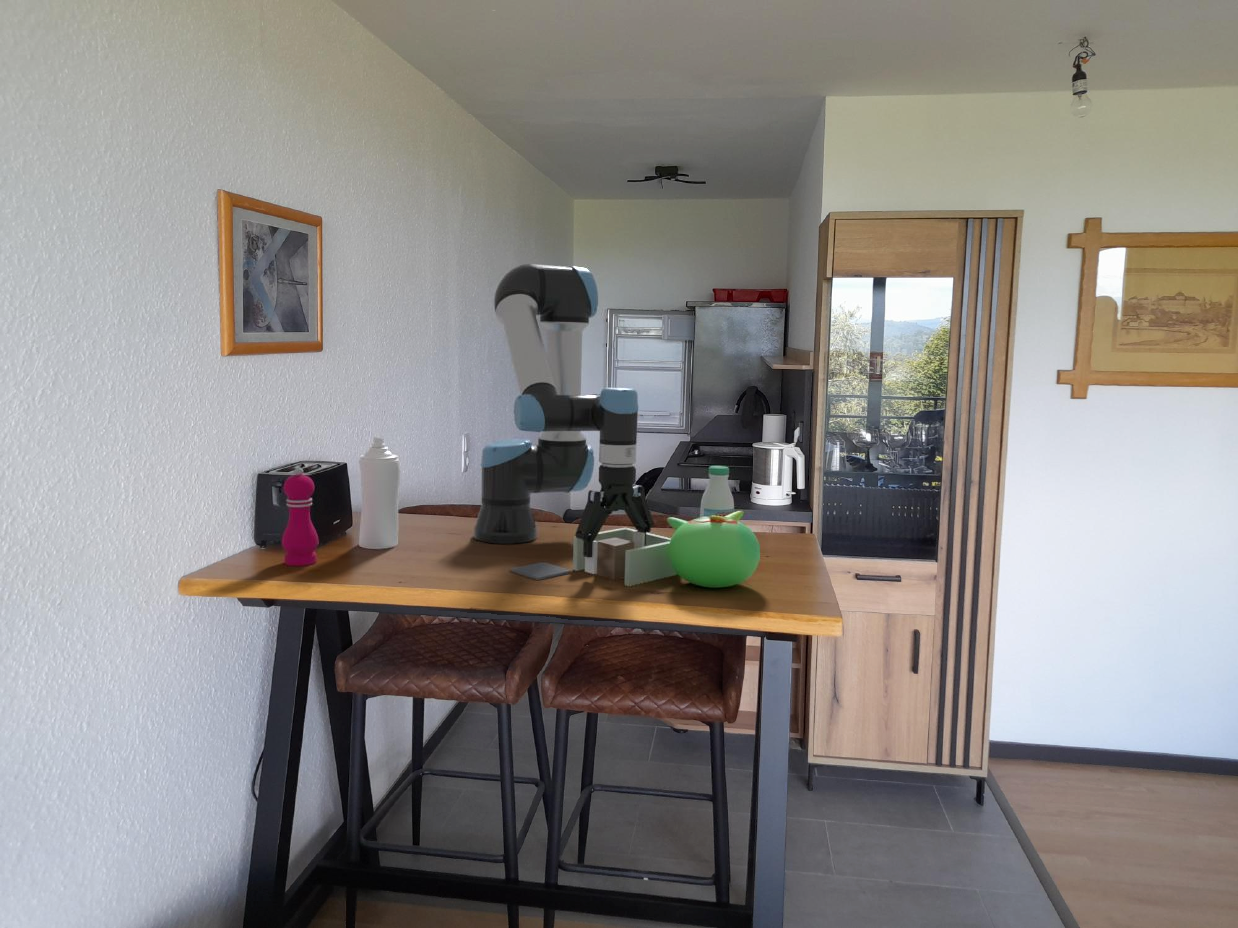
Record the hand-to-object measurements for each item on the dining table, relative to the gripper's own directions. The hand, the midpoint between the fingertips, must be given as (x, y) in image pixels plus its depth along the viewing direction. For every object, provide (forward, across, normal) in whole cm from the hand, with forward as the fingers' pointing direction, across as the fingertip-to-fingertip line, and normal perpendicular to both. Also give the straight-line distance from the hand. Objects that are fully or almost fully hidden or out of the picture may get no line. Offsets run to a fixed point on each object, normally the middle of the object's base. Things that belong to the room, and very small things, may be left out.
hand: (615, 567), depth 181 cm
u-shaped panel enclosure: (+2, +3, 0) cm, 3 cm away
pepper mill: (+1, -44, +48) cm, 66 cm away
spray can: (+1, -24, +51) cm, 57 cm away
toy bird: (+2, +10, -18) cm, 20 cm away
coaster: (+2, -10, +11) cm, 15 cm away
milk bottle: (+2, +32, -1) cm, 32 cm away
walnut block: (+2, 0, 0) cm, 2 cm away
